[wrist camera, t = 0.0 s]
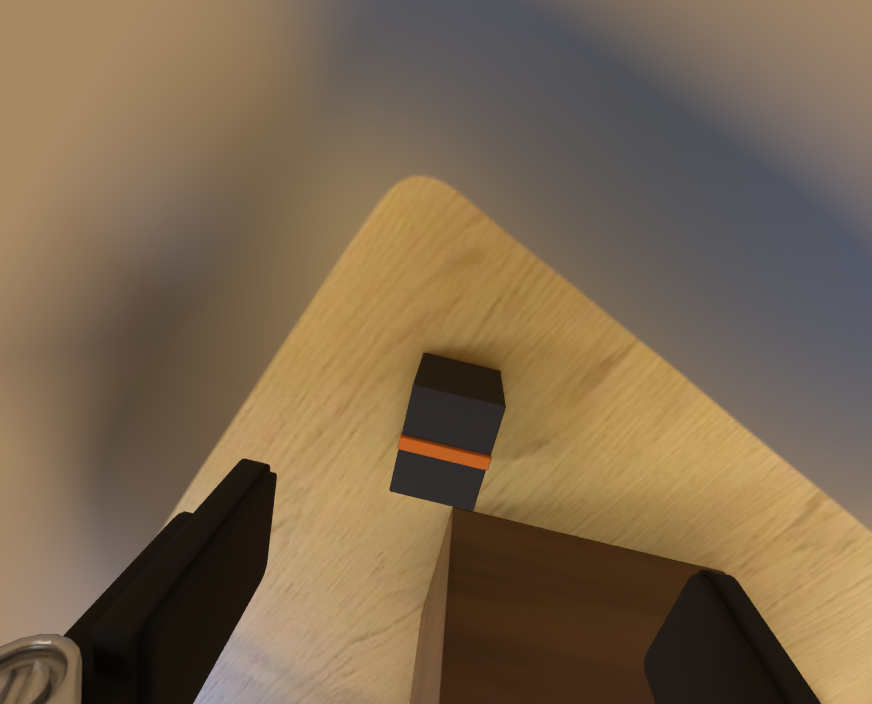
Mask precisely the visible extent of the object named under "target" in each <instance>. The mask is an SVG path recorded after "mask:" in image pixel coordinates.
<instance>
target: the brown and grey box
mask: <svg viewBox="0 0 872 704" xmlns="http://www.w3.org/2000/svg"><path fill="white" fill-rule="evenodd" d="M702 569H704V570H710V571H714V572H718V573H722V574H725V573H724V572H720V571H716V570H712V569H708V568H704V567H699V566H695V565H691V564H687V563H683V562H679V561H674V560H670V559H666V558H662V557H658V556H654V555H649V554H645V553H641V552H637V551H633V550H629V549H625V548H620V547H616V546H612V545H608V544H604V543H600V542H595V541H591V540H587V539H583V538H579V537H575V536H571V535H566V534H562V533H558V532H554V531H550V530H546V529H541V528H537V527H533V526H529V525H525V524H521V523H517V522H512V521H508V520H504V519H500V518H496V517H492V516H487V515H483V514H479V513H475V512H471V511H467V510H462V509H458V508H454V507H453V508H452V512H451V515H450V518H449V522H448V525H447V529H446V532H445V536H444V539H443V542H442V546H441V549H440V553H439V556H438V559H437V563H436V566H435V570H434V573H433V577H432V580H431V583H430V587H429V590H428V594H427V597H426V601H425V604H424V607H423V611H422V614H421V621H420V629H419V637H418V645H417V652H416V660H415V668H414V676H413V684H412V692H411V699H410V704H655V701H654V698H653V695H652V693H651V690H650V687H649V684H648V681H647V679H646V676H645V672H644V657H645V655H646V653H647V651H648V649H649V647H650V646H651V644H652V642H653V640H654V639H655V637H656V635H657V633H658V632H659V630H660V628H661V626H662V624H663V623H664V621H665V619H666V617H667V616H668V614H669V612H670V610H671V609H672V607H673V605H674V603H675V602H676V600H677V598H678V596H679V595H680V593H681V591H682V589H683V588H684V586H685V584H686V582H687V581H688V579H689V577H690V576H691V575H693V574H697V573H698V571H700V570H702Z"/></svg>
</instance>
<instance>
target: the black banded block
mask: <svg viewBox="0 0 872 704" xmlns="http://www.w3.org/2000/svg"><path fill="white" fill-rule="evenodd" d="M505 408H506V406H505V399H504V393H503V386H502V379H501V372H500V371H498V370H494V369H490V368H486V367H481V366H477V365H473V364H469V363H465V362H461V361H456V360H452V359H448V358H444V357H440V356H436V355H431V354H427V353H423V356H422V359H421V362H420V365H419V368H418V371H417V374H416V377H415V380H414V383H413V387H412V392H411V396H410V401H409V405H408V410H407V414H406V418H405V423H404V427H403V432H402V433H401V436H400V440H399V444H398V449H399V450H398V454H397V458H396V463H395V467H394V472H393V476H392V481H391V485H390V491H391V492H395V493H399V494H403V495H407V496H412V497H416V498H420V499H424V500H428V501H432V502H437V503H441V504H445V505H449V506H453V507H457V508H461V509H466V510H470V511H473V510H474V506H475V503H476V500H477V497H478V494H479V490H480V487H481V484H482V481H483V478H484V475H485V471H486V470H488V468H489V465H490V462H491V452H492V449H493V446H494V443H495V439H496V436H497V433H498V430H499V427H500V424H501V420H502V417H503V414H504V411H505Z"/></svg>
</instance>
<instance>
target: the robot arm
mask: <svg viewBox="0 0 872 704" xmlns="http://www.w3.org/2000/svg"><path fill="white" fill-rule="evenodd" d="M276 480H277V475H276V473H273V472H270V465H268V464H265V463H261V462H257V461H253V460H248V459H242V460H241V461H239V462H238V464H237V465H236V466H235V467H234V468H233V469H232V470H231V471H230V473H229V474H228V475H227V476H226V477H225V478H224V479H223V480H222V482H221V483H220V484H219V485H218V486H217V487H216V488H215V489H214V491H213V492H212V493H211V494H210V495H209V496H208V497H207V498H206V500H205V501H204V502H203V503H202V504H201V505H200V506H199V507H198V509H197V510H196V511H195V512H194V513H189V512H182V513H180V514H178V515H177V516H176V517H175V518H173V519H172V520H171V521H170V522H169V524H168V525H167V526H166V527H165V528H164V529H163V530H162V531H161V532H160V533H159V534H158V535H157V536H156V537H155V538H154V540H153V541H152V542H151V543H150V544H149V545H148V546H147V547H146V548H145V549H144V550H143V551H142V552H141V553H140V555H139V556H138V557H137V558H136V559H135V560H134V561H133V562H132V563H131V564H130V565H129V566H128V567H127V568H126V569H125V571H124V572H123V573H122V574H121V575H120V576H119V577H118V578H117V579H116V580H115V581H114V582H113V583H112V585H110V587H109V588H108V589H107V590H106V591H105V592H104V593H103V594H102V595H101V596H100V597H99V599H97V600H96V601H95V603H94V604H93V605H92V606H91V607H90V608H89V609H88V610H87V611H86V612H85V613H84V614H83V615H82V617H81V618H80V619H79V620H78V621H77V622H76V623H75V624H74V625H73V626H72V627H71V628H70V629H69V630H68V631H67V633H66V634H65V635H64V636H61V635H58V634H38V635H34V636H29V637H24V638H20V639H17V640H15V641H13V642H10V643H8V644H5V645H3V646H1V647H0V704H193V703H194V701H195V699H196V698H197V696H198V694H199V692H200V690H201V689H202V687H203V685H204V683H205V681H206V680H207V678H208V676H209V674H210V672H211V670H212V669H213V667H214V665H215V663H216V661H217V660H218V658H219V656H220V654H221V652H222V651H223V649H224V647H225V645H226V643H227V642H228V640H229V638H230V636H231V634H232V633H233V631H234V629H235V627H236V625H237V624H238V622H239V620H240V618H241V616H242V615H243V613H244V611H245V609H246V607H247V606H248V604H249V602H250V600H251V598H252V597H253V595H254V593H255V591H256V589H257V588H258V586H259V584H260V582H261V580H262V578H263V576H264V573H265V570H266V566H267V560H268V551H269V542H270V533H271V524H272V515H273V507H274V498H275V489H276ZM644 672H645V676H646V679H647V681H648V684H649V687H650V690H651V693H652V695H653V698H654V701H655V704H821V703H820V701H819V700H818V698H817V697H816V695H815V694H814V692H813V691H812V690H811V688H810V687H809V685H808V684H807V682H806V681H805V679H804V678H803V676H802V675H801V673H800V672H799V671H798V669H797V668H796V666H795V665H794V663H793V662H792V660H791V659H790V657H789V656H788V654H787V653H786V652H785V650H784V649H783V647H782V646H781V644H780V643H779V641H778V640H777V638H776V637H775V635H774V634H773V632H772V631H771V630H770V628H769V627H768V625H767V624H766V622H765V621H764V619H763V618H762V616H761V615H760V613H759V612H758V611H757V609H756V608H755V606H754V605H753V603H752V602H751V600H750V599H749V597H748V596H747V594H746V593H745V592H744V590H743V589H742V587H741V586H740V584H739V583H738V581H737V580H736V579H735V578H734V577H732V576H730V575H726V574H722V573H718V572H714V571H710V570H704V569H702V570H700V571H698V573H697V574H693V575H691V576H690V577H689V579H688V581H687V582H686V584H685V586H684V588H683V589H682V591H681V593H680V595H679V596H678V598H677V600H676V602H675V603H674V605H673V607H672V609H671V610H670V612H669V614H668V616H667V617H666V619H665V621H664V623H663V624H662V626H661V628H660V630H659V632H658V633H657V635H656V637H655V639H654V640H653V642H652V644H651V646H650V647H649V649H648V651H647V653H646V655H645V657H644Z"/></svg>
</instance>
